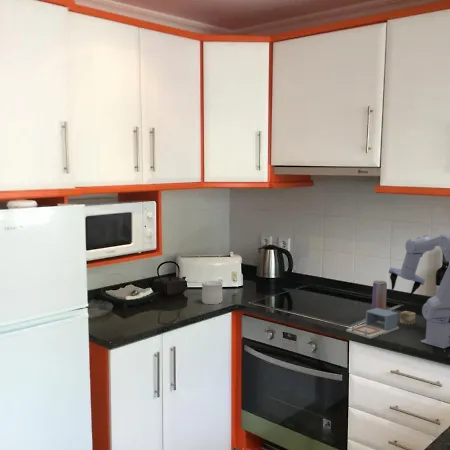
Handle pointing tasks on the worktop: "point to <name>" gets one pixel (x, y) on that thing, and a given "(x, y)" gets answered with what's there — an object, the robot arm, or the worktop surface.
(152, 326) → the worktop surface
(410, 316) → the birch block
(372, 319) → the housing
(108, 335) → the worktop surface
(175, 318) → the worktop surface
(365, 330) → the base plate
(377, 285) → the beverage can
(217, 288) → the cup
